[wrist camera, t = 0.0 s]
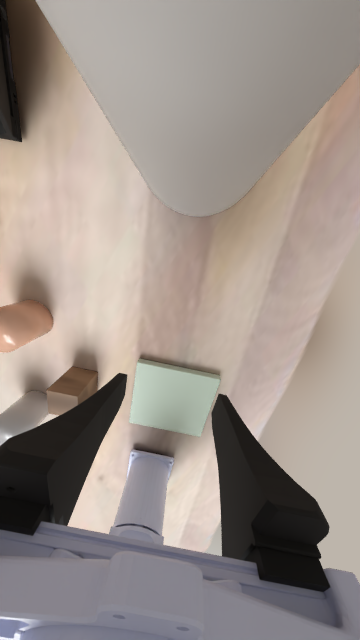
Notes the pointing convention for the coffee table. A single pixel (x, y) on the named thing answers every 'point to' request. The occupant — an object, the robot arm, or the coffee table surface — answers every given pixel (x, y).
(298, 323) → the coffee table surface
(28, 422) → the grey stone cylinder
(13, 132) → the black angular piece
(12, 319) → the pink rounded capsule
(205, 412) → the sage board
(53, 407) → the walnut block
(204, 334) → the coffee table surface
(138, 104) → the cylinder vase
